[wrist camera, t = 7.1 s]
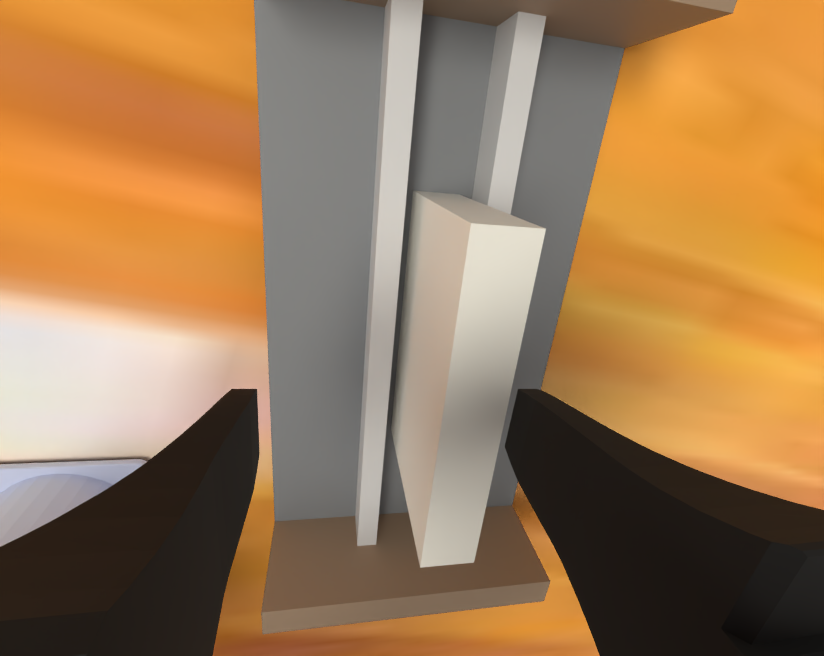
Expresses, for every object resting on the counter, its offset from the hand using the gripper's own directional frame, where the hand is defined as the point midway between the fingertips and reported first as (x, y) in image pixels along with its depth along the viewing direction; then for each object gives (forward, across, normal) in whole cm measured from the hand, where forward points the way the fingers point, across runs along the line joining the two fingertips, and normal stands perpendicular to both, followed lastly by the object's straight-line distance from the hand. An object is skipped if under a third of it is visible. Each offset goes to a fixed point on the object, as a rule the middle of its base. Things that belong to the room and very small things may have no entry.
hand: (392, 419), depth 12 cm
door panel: (+8, -3, +1) cm, 9 cm away
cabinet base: (+10, -3, 0) cm, 10 cm away
